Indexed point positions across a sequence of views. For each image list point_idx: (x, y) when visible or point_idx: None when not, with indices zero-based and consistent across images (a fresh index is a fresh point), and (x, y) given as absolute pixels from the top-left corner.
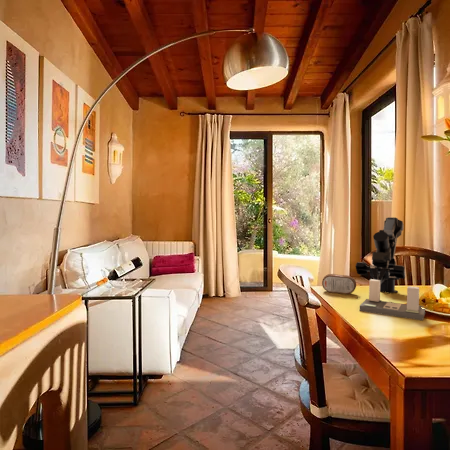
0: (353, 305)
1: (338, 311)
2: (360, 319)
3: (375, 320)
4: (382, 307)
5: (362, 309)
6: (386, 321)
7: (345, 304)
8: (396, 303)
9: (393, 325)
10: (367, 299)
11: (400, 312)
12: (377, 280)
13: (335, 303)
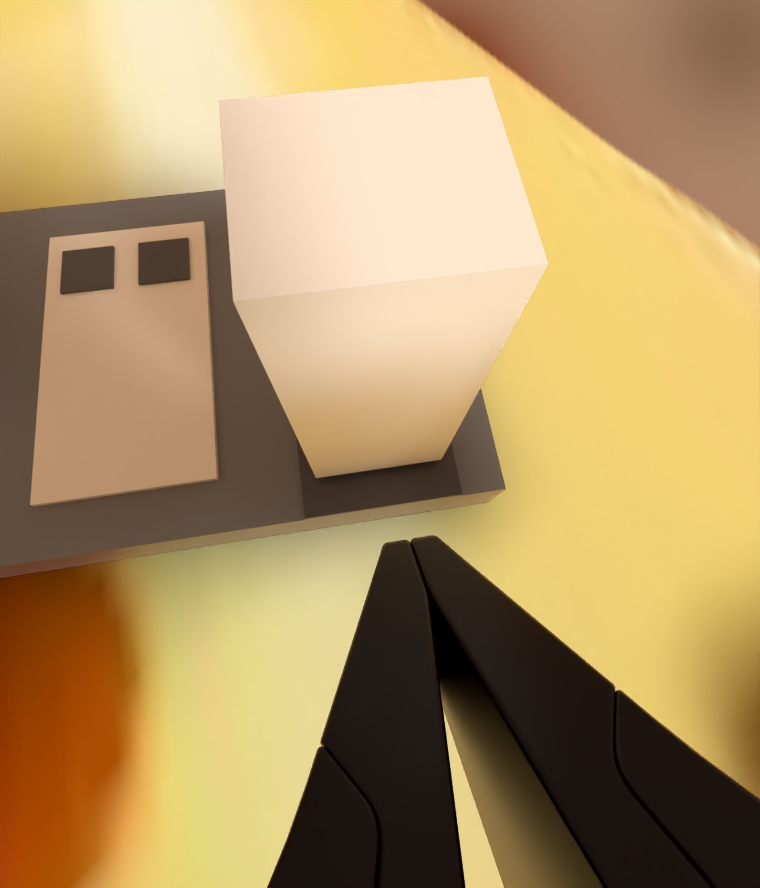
0: (552, 340)
1: (537, 103)
2: (321, 38)
3: (225, 73)
4: (215, 237)
5: None
6: (150, 95)
7: (629, 323)
8: (94, 491)
9: (91, 50)
10: (481, 465)
11: (33, 216)
12: (294, 188)
13: (716, 293)
